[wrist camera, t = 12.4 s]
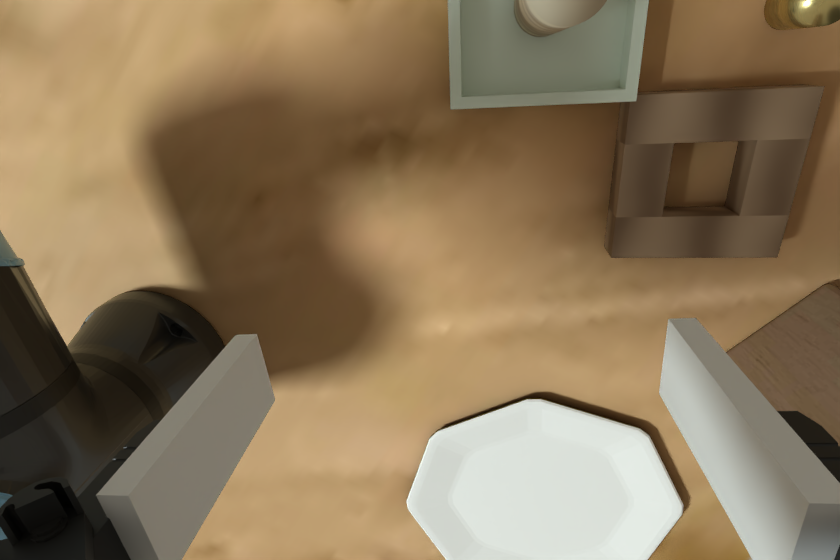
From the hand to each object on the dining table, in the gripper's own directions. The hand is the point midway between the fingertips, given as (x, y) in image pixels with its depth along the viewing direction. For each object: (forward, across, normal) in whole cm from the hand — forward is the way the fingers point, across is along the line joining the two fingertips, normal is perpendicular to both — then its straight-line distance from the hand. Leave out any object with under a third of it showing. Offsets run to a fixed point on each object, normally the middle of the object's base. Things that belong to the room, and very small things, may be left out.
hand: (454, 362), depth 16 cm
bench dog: (+25, +22, +10) cm, 35 cm away
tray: (+26, +6, +12) cm, 29 cm away
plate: (+27, +6, -36) cm, 45 cm away
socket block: (+26, +18, -1) cm, 31 cm away
